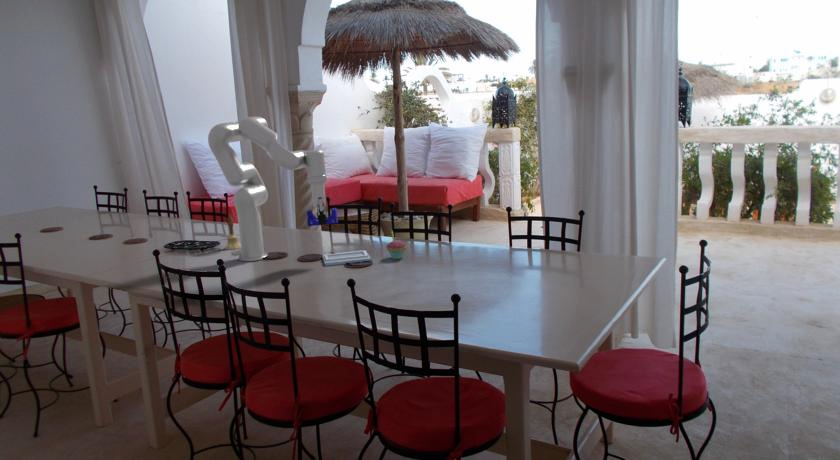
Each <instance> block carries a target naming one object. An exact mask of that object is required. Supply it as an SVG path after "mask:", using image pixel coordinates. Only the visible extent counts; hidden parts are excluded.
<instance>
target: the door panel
mask: <svg viewBox="0 0 840 460" xmlns="http://www.w3.org/2000/svg"><path fill="white" fill-rule="evenodd" d="M321 255H322V256H321V257H322V260H323V262H324V263H323V264H324V266H325V267H330V266H339V265H347V264H346V263H349V262H357V261H370V262H372V259H371V258H372V257H371V256H370V255H369V252H367V250H366V249H364V250H363V249H362V250H353V251H344V252H336V251H334V250H333V251H330V253H323V254H321Z"/></svg>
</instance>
